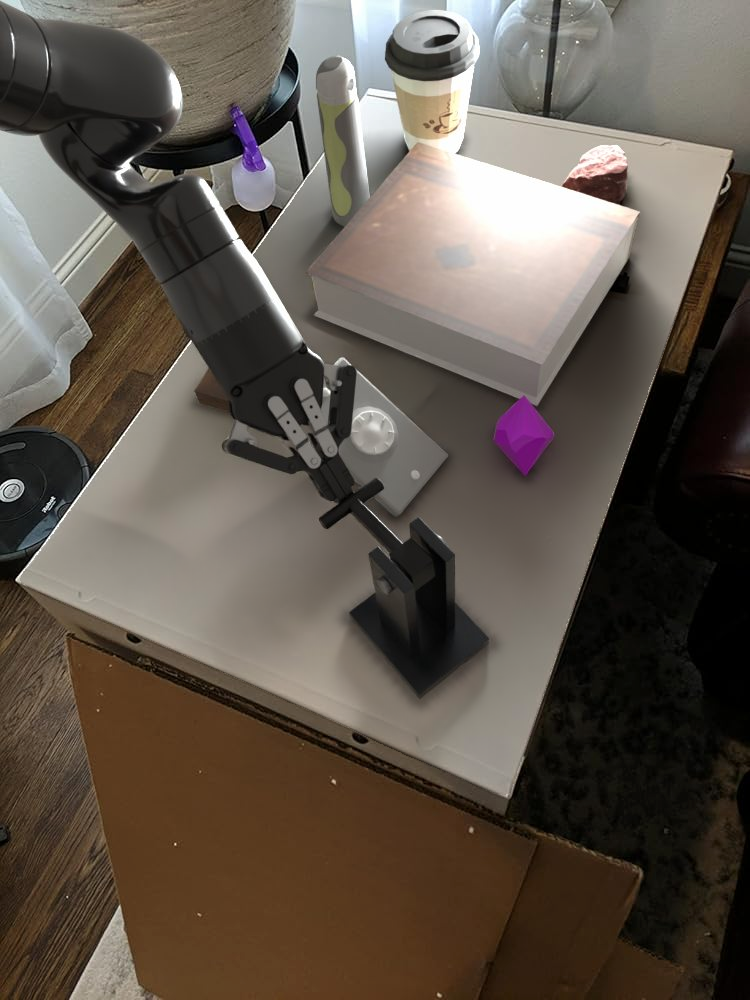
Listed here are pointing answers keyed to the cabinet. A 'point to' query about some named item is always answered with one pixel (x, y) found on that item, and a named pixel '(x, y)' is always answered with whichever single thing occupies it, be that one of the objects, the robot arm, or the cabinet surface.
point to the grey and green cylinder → (342, 138)
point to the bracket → (418, 617)
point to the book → (474, 268)
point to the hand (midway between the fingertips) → (344, 498)
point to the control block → (211, 393)
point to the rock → (600, 174)
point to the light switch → (386, 446)
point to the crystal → (522, 434)
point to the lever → (383, 534)
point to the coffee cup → (432, 76)
